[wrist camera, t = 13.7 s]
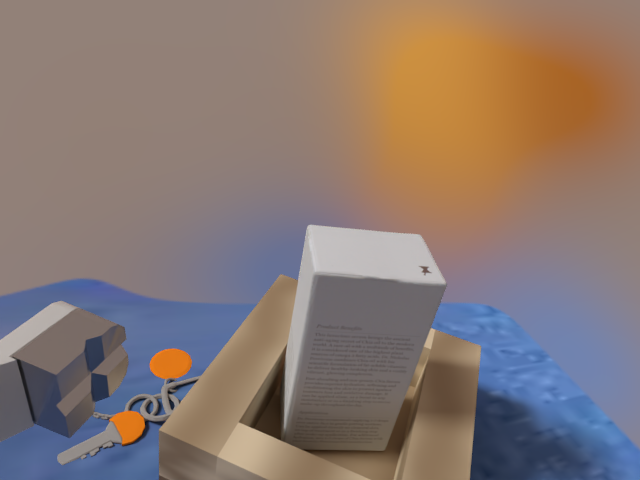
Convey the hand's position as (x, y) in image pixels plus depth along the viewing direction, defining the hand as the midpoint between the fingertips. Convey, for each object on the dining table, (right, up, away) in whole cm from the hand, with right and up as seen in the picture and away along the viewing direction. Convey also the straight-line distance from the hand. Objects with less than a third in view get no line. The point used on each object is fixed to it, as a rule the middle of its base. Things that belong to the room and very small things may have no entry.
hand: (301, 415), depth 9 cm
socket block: (+1, -9, +20) cm, 21 cm away
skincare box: (+1, -7, +19) cm, 20 cm away
